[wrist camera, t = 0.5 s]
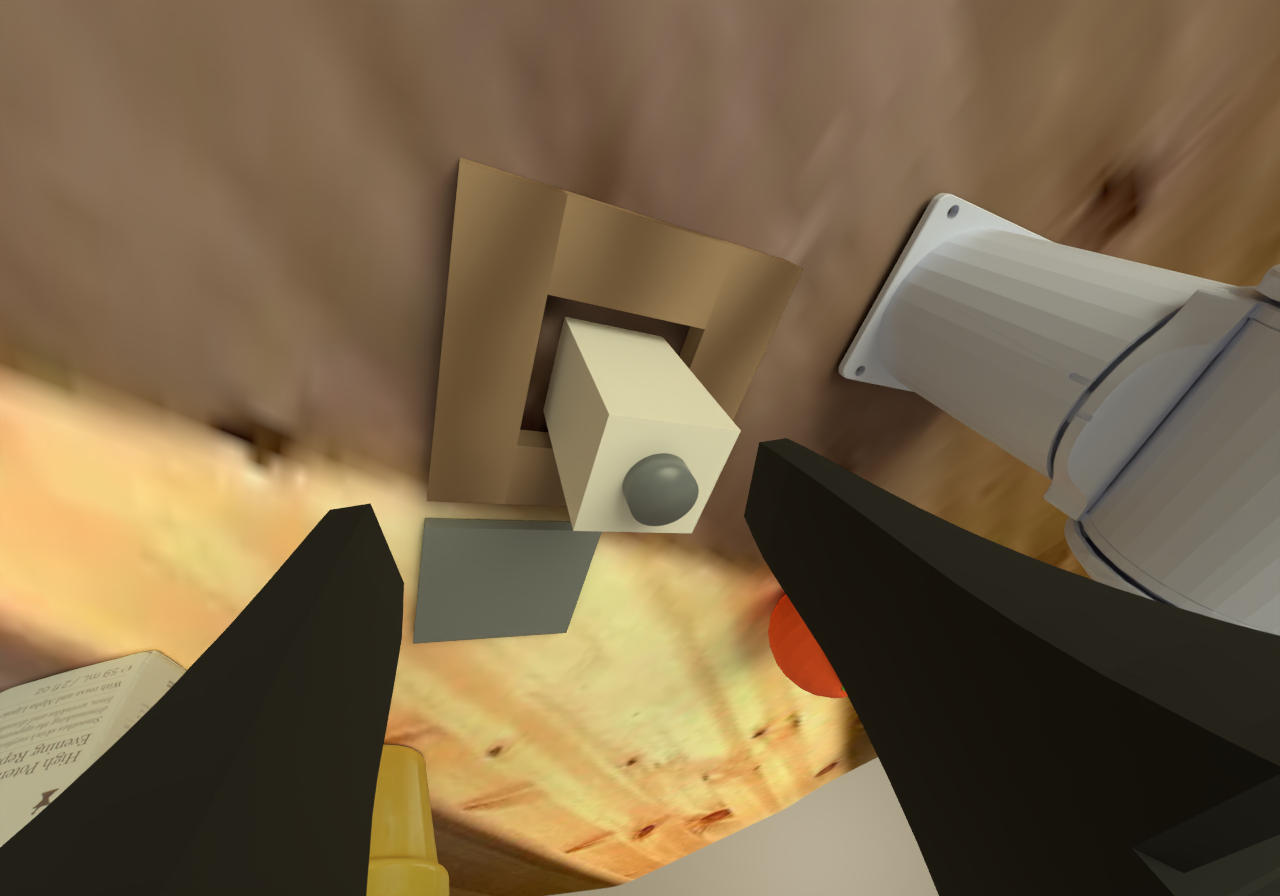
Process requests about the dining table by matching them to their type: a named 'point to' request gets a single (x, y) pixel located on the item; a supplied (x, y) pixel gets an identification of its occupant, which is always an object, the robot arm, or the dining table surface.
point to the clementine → (801, 653)
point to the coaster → (499, 578)
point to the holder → (586, 272)
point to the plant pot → (403, 830)
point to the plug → (632, 431)
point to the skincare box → (70, 727)
